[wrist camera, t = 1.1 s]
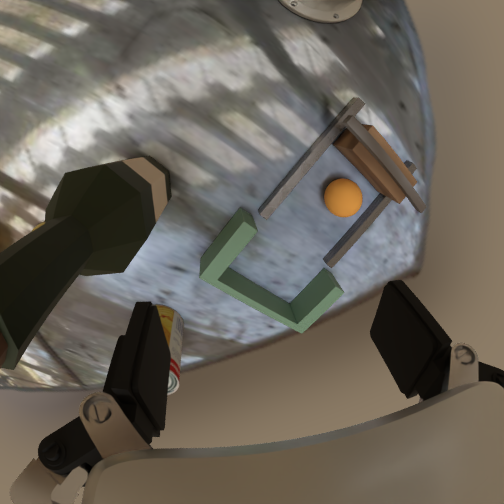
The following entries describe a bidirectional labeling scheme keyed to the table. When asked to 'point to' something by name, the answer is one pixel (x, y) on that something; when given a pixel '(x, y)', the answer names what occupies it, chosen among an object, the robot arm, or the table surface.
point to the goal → (222, 277)
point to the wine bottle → (77, 242)
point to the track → (304, 167)
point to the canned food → (172, 342)
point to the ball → (343, 197)
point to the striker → (377, 162)
